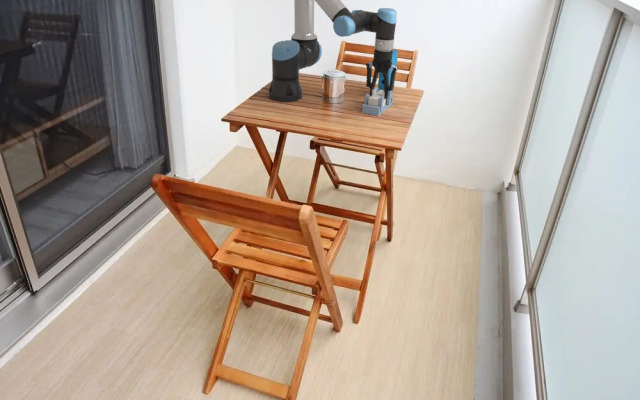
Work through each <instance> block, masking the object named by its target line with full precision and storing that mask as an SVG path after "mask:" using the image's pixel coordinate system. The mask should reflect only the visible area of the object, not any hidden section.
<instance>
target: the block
mask: <svg viewBox="0 0 640 400" xmlns="http://www.w3.org/2000/svg"><path fill="white" fill-rule="evenodd" d="M392 51H393V54H392V65H393V66H395V67H398V66H397V65H398V58H399V57H398V55H399V49H398V50H397V49H392ZM391 73H392V71H391V68H390V69H389V70H388V80H389V85H390V78H391ZM377 82H378V83H377V88H378V91H379V90H384V78H383V73H381V72H379V74H378V79H377ZM391 91H392V94H393V92H394V89H393V90H391Z"/></svg>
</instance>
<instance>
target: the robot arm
mask: <svg viewBox="0 0 640 400" xmlns="http://www.w3.org/2000/svg"><path fill="white" fill-rule="evenodd" d="M293 2H294V4H293V5H294V33H292V34H291V37H290V38H291V39H289V40H288V39H286V40H280V41H277V42H275V43H274V44H273V46H272V52H271V60H272V61H271V62H272V63H271V64H272V66H271V68H272V69H271V71H272V72H271V73H272V74H271V75H272V79H271V83H270V86H269V89H268V98H269V99H271V100H274V101H277V102H285V103H286V102H288V103H289V102H296V101H299V100H301V99H302V98H303V90H302V86H301V83H300V82H301V81H300V79H299V78H300V77H299V75H300V70H303V69H306V68H310V67H312V66H314V65H315V64H317V63H318V62H319V61H320V59H321V57H322V53H323V51H322V50H323V49H322V45H321V44H320V42H319V41H318V36H317V34H316V33H315V3H316V4H317V6H319V8H320V9H321V10H322V11H323V12H324V13H325V15H326V17H328V19H329V20H331V22H332V28H333V31H334V33H335V35H337V36H338V37H343V38H344V37H350V36H352V35H355V34H359V33H362V32H368V33H369V32H370V33H374V34H375V39H374V50H373V59H372V61H371V62H370V61H369V62H367V63H365V67H366V83H365V86H366V87H367V88H369V89H370V90H369V94H370V96H369V97H371V96H372V95H374V94H375V93H376V88H377V87H376V84H377V82H378V79H379V72H381V73H383V78H384V91H383V94H382V97H384V101H383V106H384V105H385V101H386V99H387V98H388V93H389V91H391V90H393V91H394V89H395V88H394V87H395V80H396V75H397V72H398V69H399V67H398V66H396V67H395V66H393V65H392V54H393V51H392V50H394V44H395V43H394V42H395V34H396V33H395V32H396V25H397V13H398V12H397V10H396V9H395V8H389V7H381V8H378V10H377V12H373V11H367V10H363V9H353V10H352V11H350V10H349V9H348V8H347V6H346V5H345V4H344V3H343V2H342V0H294V1H293ZM373 68H374V72H373V71H372V70H373ZM390 68H391V71H392V73H391V78H390V85H389V80H388V70H389V69H390ZM372 74H373V75H372Z"/></svg>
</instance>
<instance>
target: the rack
mask: <svg viewBox="0 0 640 400" xmlns="http://www.w3.org/2000/svg"><path fill="white" fill-rule="evenodd" d="M375 88H376V92H378V87H375ZM369 97H371V96H370V93H366V94H365V96H364V103H363V104H362V105H361V113H362V114H366V115H370V116H371V115H372V116H375V117H379V116H380V115H382V114H383V113H384V112H386V110H388V109H389V108H390V107H391V106H393V102H394V97H393V93H392V91H389V93H388V98H387V103H386V104H385V105H384V106H383V101H384V97H380V100H379V107H375V106H370V105H368V100H369Z"/></svg>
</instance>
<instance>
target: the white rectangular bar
mask: <svg viewBox="0 0 640 400" xmlns="http://www.w3.org/2000/svg"><path fill="white" fill-rule="evenodd" d="M383 91H384V90H379V91H378V92H376V93H375V94H374V95H372V96H369V100H368V105H370V106H375V107H379V100H380V97H382V94H383ZM386 103H387V99H386V101H385V104H386Z"/></svg>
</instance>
